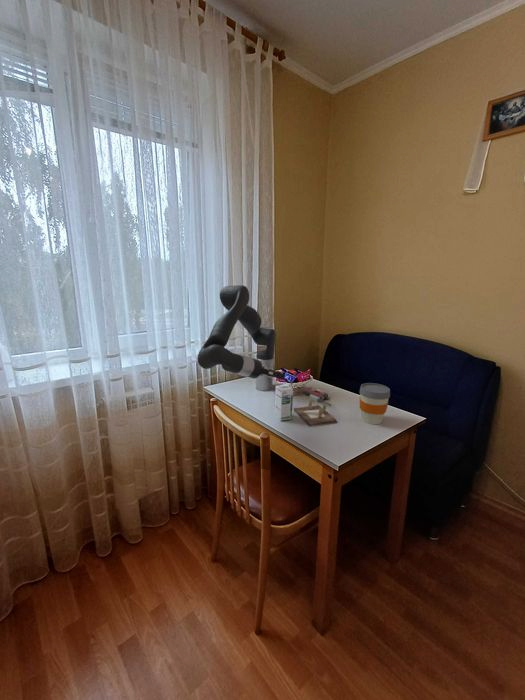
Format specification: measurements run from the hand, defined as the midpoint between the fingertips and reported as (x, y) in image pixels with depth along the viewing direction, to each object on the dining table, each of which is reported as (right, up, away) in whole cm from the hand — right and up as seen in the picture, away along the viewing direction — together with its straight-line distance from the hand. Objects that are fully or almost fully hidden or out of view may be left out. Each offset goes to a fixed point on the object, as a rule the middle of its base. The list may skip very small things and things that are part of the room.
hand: (277, 375), depth 132 cm
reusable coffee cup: (+42, -21, +9) cm, 48 cm away
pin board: (+17, -19, +11) cm, 28 cm away
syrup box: (+3, -20, +9) cm, 22 cm away
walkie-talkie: (+23, -15, +30) cm, 41 cm away
